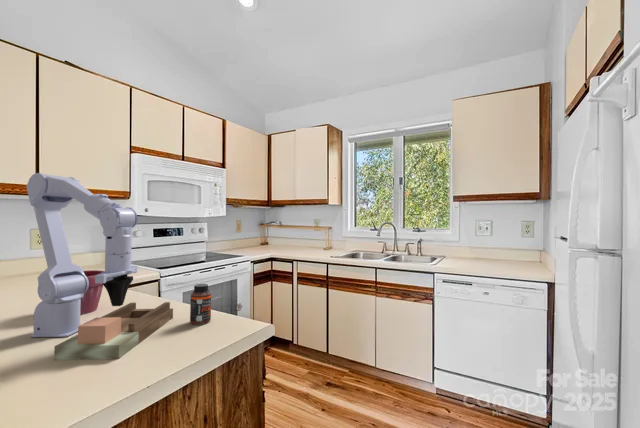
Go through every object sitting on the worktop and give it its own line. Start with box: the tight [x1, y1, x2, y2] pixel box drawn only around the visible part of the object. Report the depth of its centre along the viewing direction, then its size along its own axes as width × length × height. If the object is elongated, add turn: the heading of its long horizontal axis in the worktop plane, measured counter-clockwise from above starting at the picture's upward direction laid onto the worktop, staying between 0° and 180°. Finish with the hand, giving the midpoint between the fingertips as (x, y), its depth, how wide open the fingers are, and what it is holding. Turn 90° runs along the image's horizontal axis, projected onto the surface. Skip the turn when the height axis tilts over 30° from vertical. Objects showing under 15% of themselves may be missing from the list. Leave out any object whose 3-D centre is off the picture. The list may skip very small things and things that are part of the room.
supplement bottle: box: [189, 283, 212, 325], centre depth 93 cm, size 6×6×11 cm
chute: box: [53, 301, 174, 361], centre depth 82 cm, size 14×28×5 cm, turn 3°
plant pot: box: [53, 269, 104, 316], centre depth 102 cm, size 14×14×13 cm
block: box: [77, 317, 121, 344], centre depth 72 cm, size 6×6×4 cm
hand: (117, 305), depth 79 cm, fingers closed
